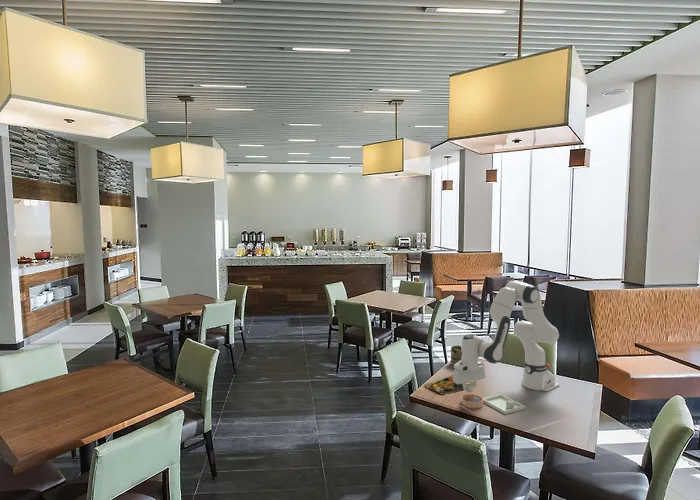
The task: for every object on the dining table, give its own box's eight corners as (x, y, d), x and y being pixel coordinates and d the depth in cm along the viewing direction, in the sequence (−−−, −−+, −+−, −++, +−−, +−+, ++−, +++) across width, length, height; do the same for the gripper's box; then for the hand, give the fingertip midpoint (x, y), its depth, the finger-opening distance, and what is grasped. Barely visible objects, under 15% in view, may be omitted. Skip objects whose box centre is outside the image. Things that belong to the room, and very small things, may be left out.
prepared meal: (444, 391, 234) (423, 380, 249) (444, 397, 234) (422, 386, 249) (477, 382, 249) (455, 373, 264) (477, 388, 249) (455, 378, 264)
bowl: (472, 398, 231) (472, 392, 231) (487, 406, 221) (487, 400, 221) (456, 402, 226) (456, 396, 226) (471, 410, 216) (471, 404, 216)
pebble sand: (469, 388, 228) (469, 382, 228) (474, 391, 224) (474, 384, 224) (463, 390, 226) (463, 383, 226) (468, 392, 223) (468, 385, 222)
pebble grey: (509, 406, 219) (510, 399, 219) (515, 409, 216) (515, 402, 216) (504, 408, 218) (504, 401, 218) (510, 411, 214) (510, 404, 214)
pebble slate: (475, 403, 224) (475, 396, 224) (480, 406, 220) (480, 399, 220) (470, 404, 222) (470, 397, 222) (475, 407, 219) (475, 400, 219)
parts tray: (500, 397, 232) (500, 394, 232) (524, 409, 217) (524, 405, 217) (481, 402, 226) (481, 398, 226) (505, 415, 211) (505, 411, 211)
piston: (459, 351, 278) (447, 347, 288) (459, 368, 279) (447, 363, 289) (471, 348, 284) (458, 344, 294) (470, 365, 285) (458, 360, 295)
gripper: (479, 359, 232) (479, 383, 233) (451, 365, 223) (450, 389, 224) (487, 363, 226) (487, 387, 227) (459, 368, 217) (458, 394, 218)
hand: (469, 388), depth 225 cm, fingers closed on pebble sand, 4 cm apart
